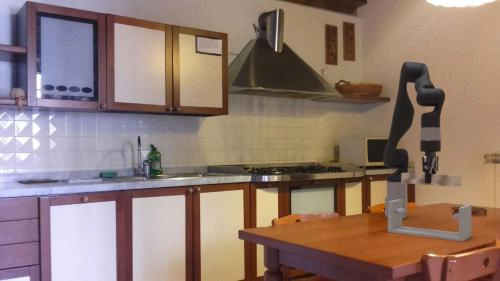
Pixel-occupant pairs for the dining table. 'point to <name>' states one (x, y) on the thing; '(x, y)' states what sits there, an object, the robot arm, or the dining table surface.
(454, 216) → the grey c-shaped frame
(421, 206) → the dining table surface
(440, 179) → the shelf board
